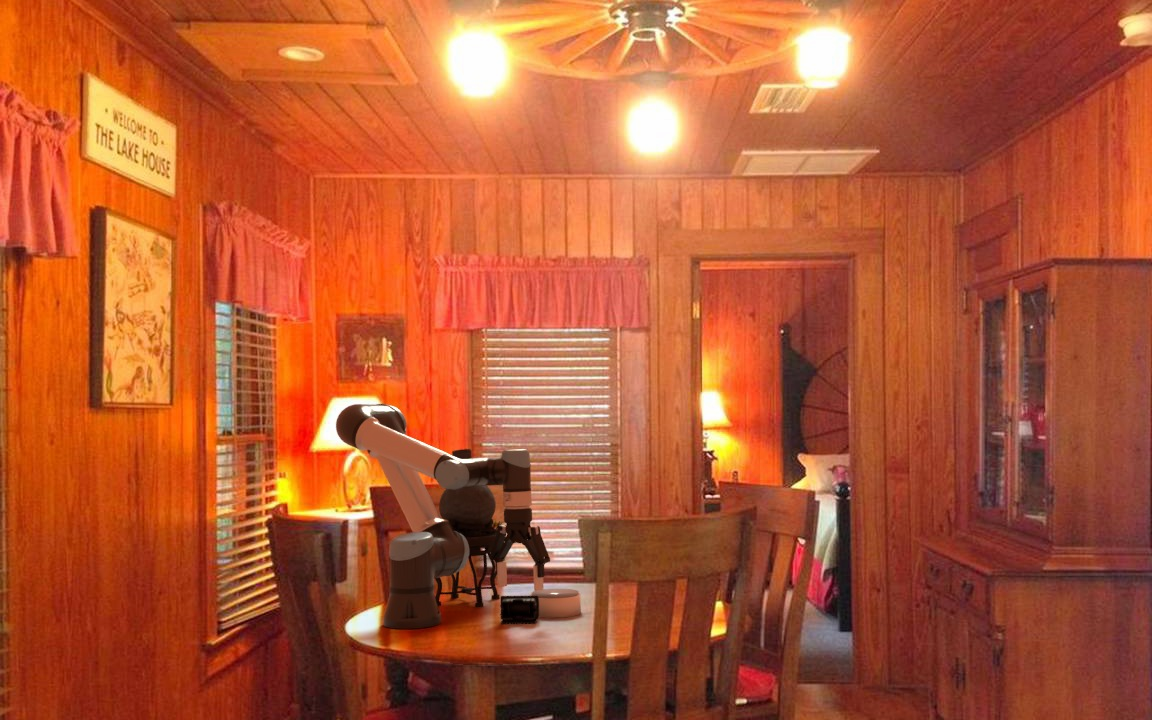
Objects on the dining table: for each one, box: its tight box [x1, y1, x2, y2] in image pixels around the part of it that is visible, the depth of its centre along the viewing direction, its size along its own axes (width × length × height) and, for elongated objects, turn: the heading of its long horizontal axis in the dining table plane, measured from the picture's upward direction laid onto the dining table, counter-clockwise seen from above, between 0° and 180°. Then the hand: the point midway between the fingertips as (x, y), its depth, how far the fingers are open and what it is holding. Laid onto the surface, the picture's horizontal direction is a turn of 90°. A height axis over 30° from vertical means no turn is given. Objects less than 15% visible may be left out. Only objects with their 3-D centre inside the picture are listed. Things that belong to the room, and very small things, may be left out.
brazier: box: [434, 448, 504, 608], centre depth 314 cm, size 22×22×45 cm
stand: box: [529, 588, 582, 619], centre depth 292 cm, size 14×14×6 cm
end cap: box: [499, 595, 540, 625], centre depth 280 cm, size 10×7×7 cm
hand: (520, 588), depth 280 cm, fingers open, 13 cm apart
